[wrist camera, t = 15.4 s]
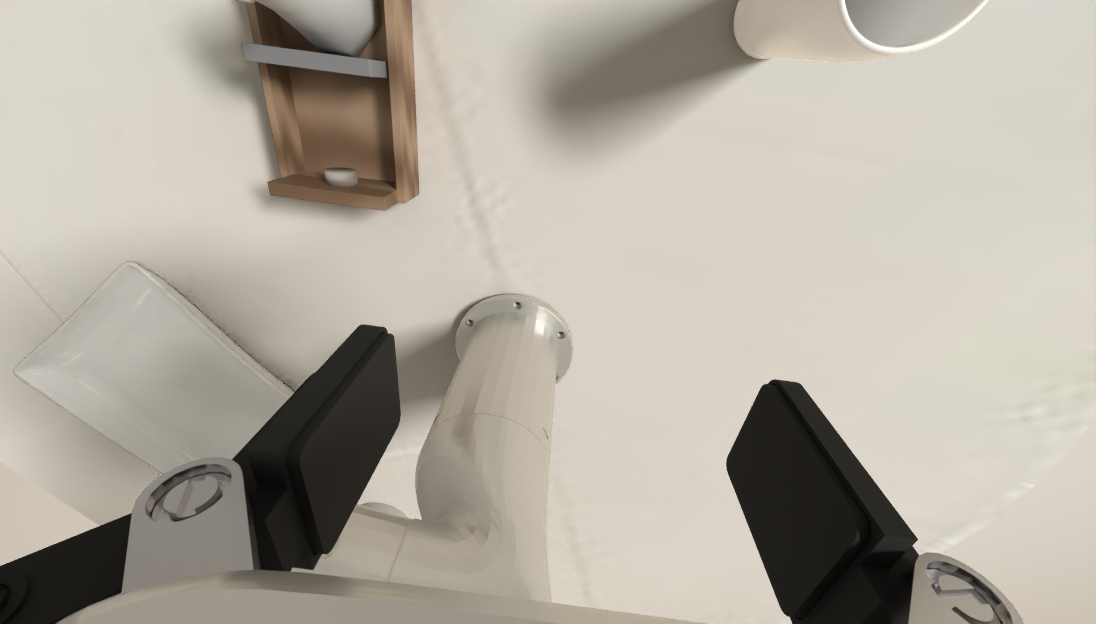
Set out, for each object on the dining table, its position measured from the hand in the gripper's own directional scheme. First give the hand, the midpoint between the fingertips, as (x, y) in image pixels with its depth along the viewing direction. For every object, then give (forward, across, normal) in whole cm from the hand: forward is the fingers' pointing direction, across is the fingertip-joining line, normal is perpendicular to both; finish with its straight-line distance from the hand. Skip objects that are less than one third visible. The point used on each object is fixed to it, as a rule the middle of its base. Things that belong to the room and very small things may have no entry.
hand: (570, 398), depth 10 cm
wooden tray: (+28, +19, -6) cm, 35 cm away
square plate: (+29, +43, +31) cm, 60 cm away
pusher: (+27, +19, -6) cm, 34 cm away
